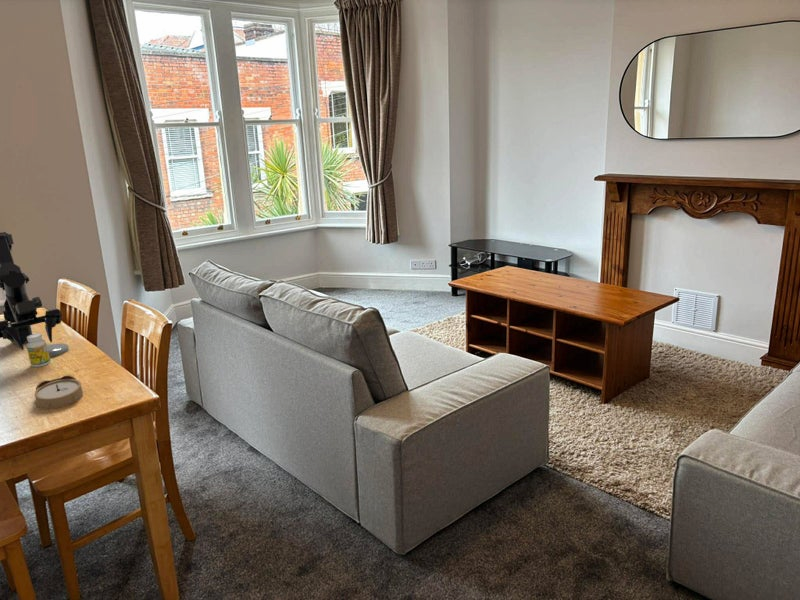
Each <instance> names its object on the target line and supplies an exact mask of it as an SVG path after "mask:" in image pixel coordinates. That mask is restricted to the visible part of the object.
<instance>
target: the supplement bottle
mask: <svg viewBox="0 0 800 600" xmlns="http://www.w3.org/2000/svg"><path fill="white" fill-rule="evenodd" d="M27 341H28V342H26V344H25V345H26V347H25V348H26V351H27V355H28V358H29V362H30V366H31V367H32V368H33V367H34V368H41V367H45V366H47V365H49V364H50V363H51V358H50V357H49V353H48V349H47V345H48V344H47V342H46V340H45V339H43V336H42V334H41V333H32V335H29V336H27Z"/></svg>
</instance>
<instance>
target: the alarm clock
mask: <svg viewBox="0 0 800 600" xmlns="http://www.w3.org/2000/svg"><path fill="white" fill-rule="evenodd" d="M83 396H84V391H83V387H82V382H81V381H80V380H78V379H77V378H76V377H75V376H73V375H72V374H71V375H70V374H66V375H63V376H61V377H57V378H53V379H50V380H42V381H40V382H39V383H37V385H36V387H35V391H34V397H35V402H36V405H37V407H38V408H40V409H43V410H50V409H51V410H52V409H57V408H58V409H59V408H63V407H67V406H69V404H70V405H72V404H74V403H76V402H78V401H79V400H81V399H82V398H83ZM81 397H82V398H81ZM80 398H81V399H80ZM77 400H78V401H77ZM71 403H72V404H71ZM66 405H67V406H66Z"/></svg>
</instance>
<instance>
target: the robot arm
mask: <svg viewBox="0 0 800 600" xmlns="http://www.w3.org/2000/svg"><path fill="white" fill-rule="evenodd" d="M12 235H13V234H11V233H7V232H6V231H2V232H0V289H2V291H4V293H5V294H4V296H5V302H4V304H3V309H4V310H3V311H2V314H3V319H4V320H0V339H1V338H2V339H3V340H6V339H7V340H8V341H10V342H12V344H14V345H16V346H17V348H20V349H21V350H22V351H24V349H25V348H24V345H23V344H25V343H28V341H27V336H29V335H32V334H33V331H32V330H33V329H32V326H33V325H37V324H42V323H45V325H44V329H45V331H46V335H47V338H48V340H49V342H50V343H52V342H53V328H56V326H57V325H59V324H61V323H62V318H63V317H62V312H61V311H62V310H61V309H59V308H52V309H48V310H45V312H44V315H40V316H37V315H38V311H37V309H39V308H42V306H43V303H42V301H41V298H40V296H36V297H32V299H31V300H30V298H29V295H28V293H27V291H28V290H27V285H28V283H29V282H30V278H29V276H28V275H27V274H26V273H25V272H22V270H21V267H20V266H19V265H17V264H15V262H14V259H13V256H12V255H13V254H12V251H13V246H12V245H14V244H15V243H14V240H13V239H14V238H13V236H12ZM24 342H25V343H24Z"/></svg>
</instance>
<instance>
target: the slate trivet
mask: <svg viewBox="0 0 800 600" xmlns="http://www.w3.org/2000/svg"><path fill="white" fill-rule="evenodd" d="M46 345H47V349H48V353H49V357H50V359H51V358H54V357H58V356H61V355H63V354H66V353H68V351H69V350H70V347H69V344H66V343H51V344H46Z"/></svg>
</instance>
